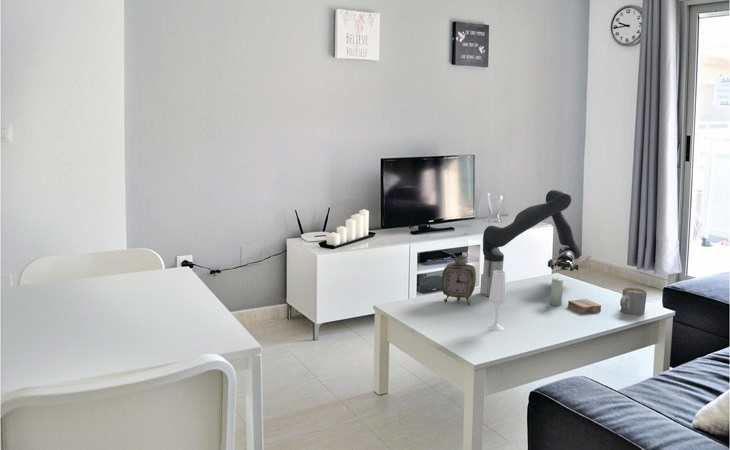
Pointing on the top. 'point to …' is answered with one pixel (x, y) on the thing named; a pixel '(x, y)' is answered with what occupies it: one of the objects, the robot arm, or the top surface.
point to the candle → (556, 292)
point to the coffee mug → (633, 300)
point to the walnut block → (584, 306)
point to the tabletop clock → (458, 279)
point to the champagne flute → (497, 295)
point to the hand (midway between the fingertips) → (561, 268)
